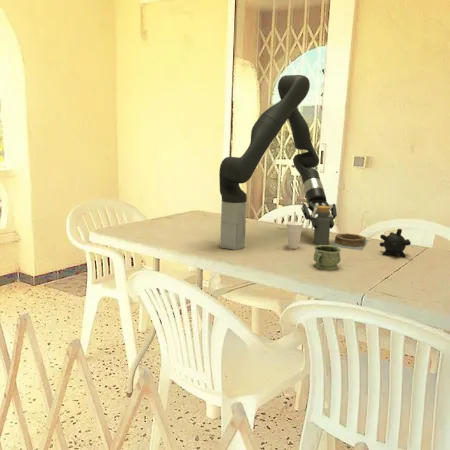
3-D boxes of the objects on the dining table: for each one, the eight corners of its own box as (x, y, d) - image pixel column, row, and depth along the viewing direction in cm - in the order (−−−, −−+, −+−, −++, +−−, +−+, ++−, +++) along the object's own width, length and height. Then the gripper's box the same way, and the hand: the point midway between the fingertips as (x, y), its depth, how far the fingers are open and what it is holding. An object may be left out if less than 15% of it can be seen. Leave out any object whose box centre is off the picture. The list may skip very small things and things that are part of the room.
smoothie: (282, 248, 176) (284, 212, 173) (288, 245, 182) (290, 209, 179) (298, 251, 173) (301, 214, 170) (304, 247, 179) (306, 211, 176)
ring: (362, 248, 180) (362, 241, 179) (333, 244, 184) (333, 238, 183) (366, 241, 189) (366, 235, 189) (338, 238, 194) (339, 232, 193)
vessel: (324, 260, 163) (325, 242, 162) (347, 265, 158) (348, 247, 156) (304, 267, 155) (306, 248, 153) (328, 273, 149) (330, 254, 148)
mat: (362, 251, 176) (362, 250, 176) (330, 247, 181) (330, 246, 181) (368, 241, 192) (368, 240, 192) (338, 237, 197) (338, 236, 197)
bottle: (327, 243, 187) (330, 205, 184) (329, 246, 181) (332, 208, 178) (312, 242, 187) (315, 205, 184) (313, 246, 182) (316, 207, 179)
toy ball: (390, 241, 180) (420, 239, 171) (382, 264, 175) (413, 264, 166) (377, 224, 175) (407, 221, 166) (368, 247, 170) (399, 246, 161)
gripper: (300, 186, 185) (309, 222, 177) (334, 186, 188) (345, 222, 179) (294, 197, 192) (303, 233, 183) (328, 197, 194) (338, 232, 186)
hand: (324, 227), depth 181 cm, fingers closed on bottle, 6 cm apart
